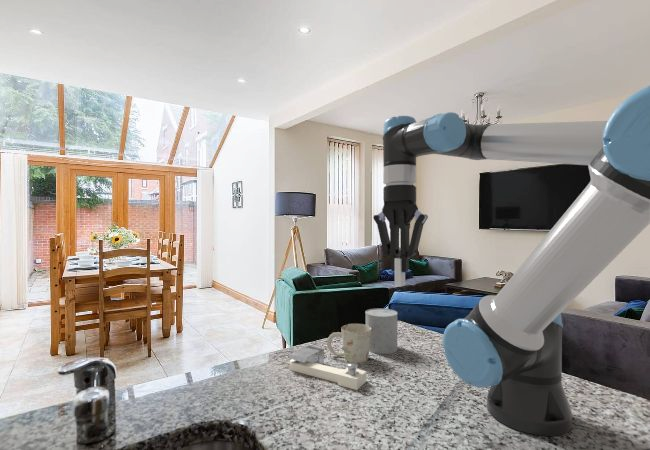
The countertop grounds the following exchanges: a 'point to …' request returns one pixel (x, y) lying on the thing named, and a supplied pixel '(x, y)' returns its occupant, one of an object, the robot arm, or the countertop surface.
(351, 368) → the pintle
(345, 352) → the mug
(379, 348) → the gray cylinder
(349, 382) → the link
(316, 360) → the keeper
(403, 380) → the countertop surface
